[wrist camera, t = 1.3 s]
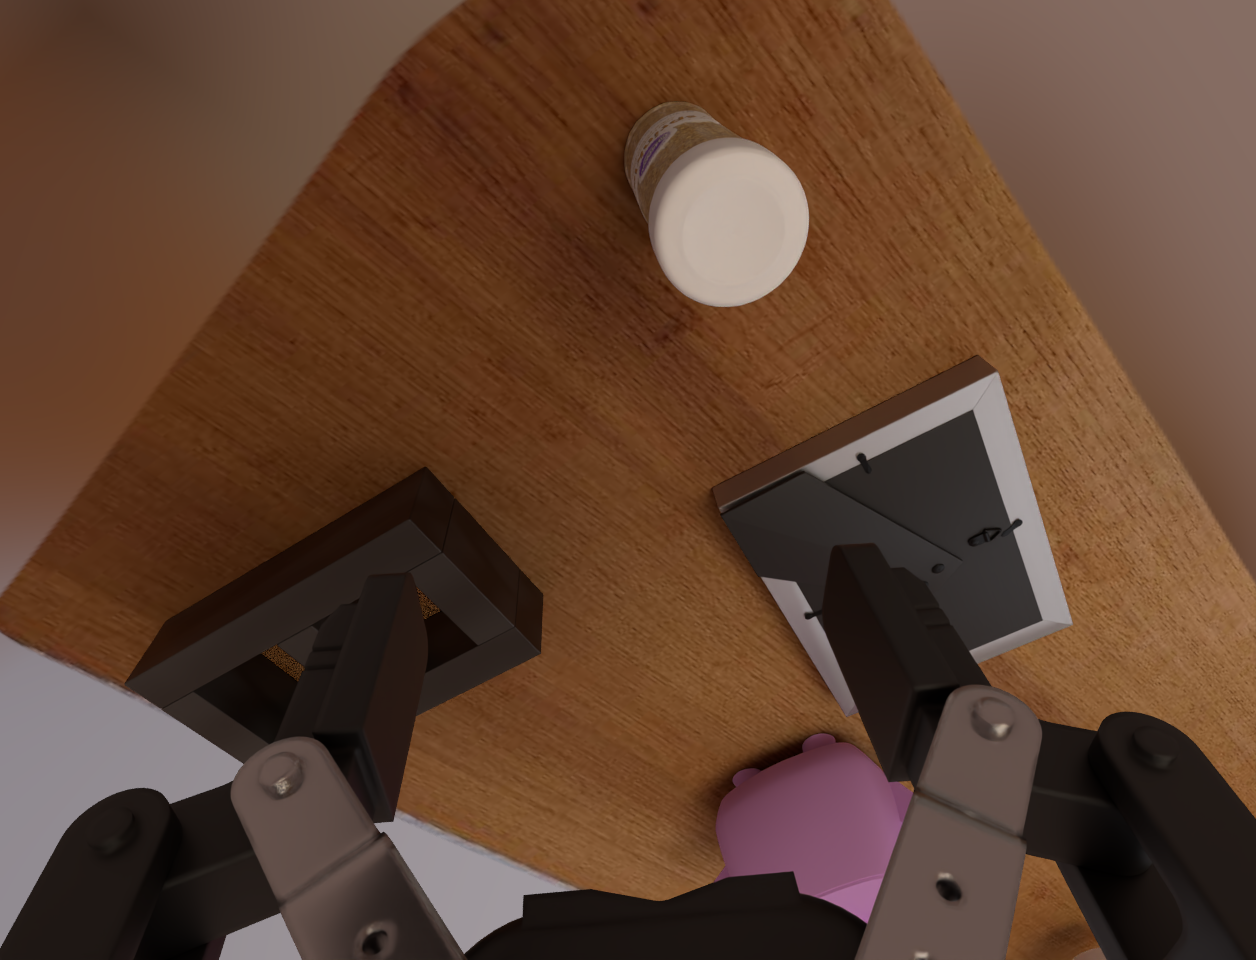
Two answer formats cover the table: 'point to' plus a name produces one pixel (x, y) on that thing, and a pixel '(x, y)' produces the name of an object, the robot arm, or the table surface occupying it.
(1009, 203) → the table surface
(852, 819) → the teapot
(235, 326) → the table surface
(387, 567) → the holder
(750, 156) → the spice jar
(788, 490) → the picture frame
